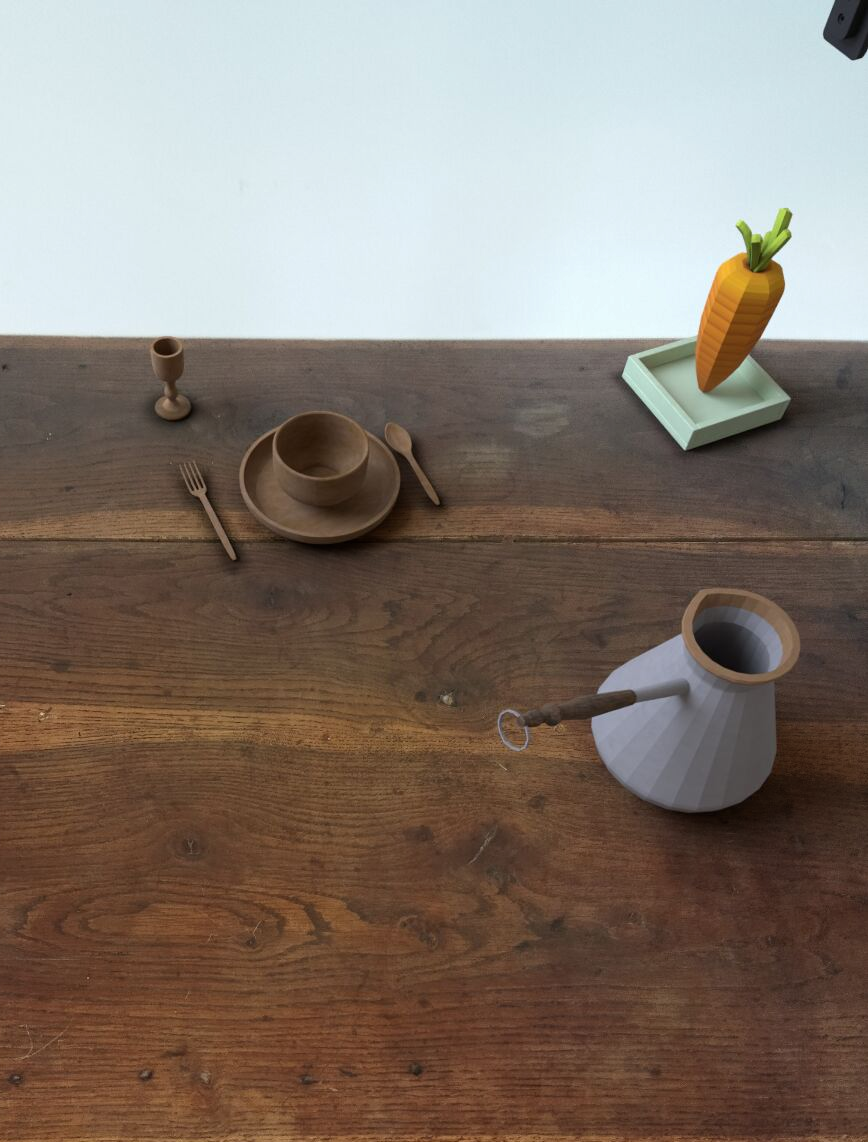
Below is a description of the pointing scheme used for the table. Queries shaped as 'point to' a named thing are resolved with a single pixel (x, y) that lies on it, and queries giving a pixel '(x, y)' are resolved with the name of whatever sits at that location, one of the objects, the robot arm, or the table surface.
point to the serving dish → (702, 395)
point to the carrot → (740, 303)
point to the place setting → (303, 468)
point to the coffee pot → (692, 705)
